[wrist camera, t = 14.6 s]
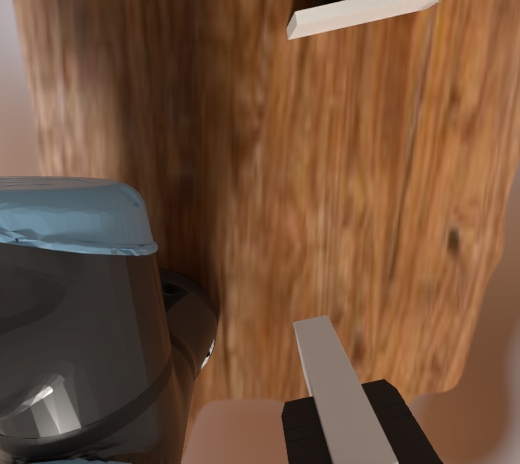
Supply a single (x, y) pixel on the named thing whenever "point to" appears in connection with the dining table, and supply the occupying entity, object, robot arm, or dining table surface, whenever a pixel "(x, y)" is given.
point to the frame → (349, 14)
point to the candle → (324, 2)
